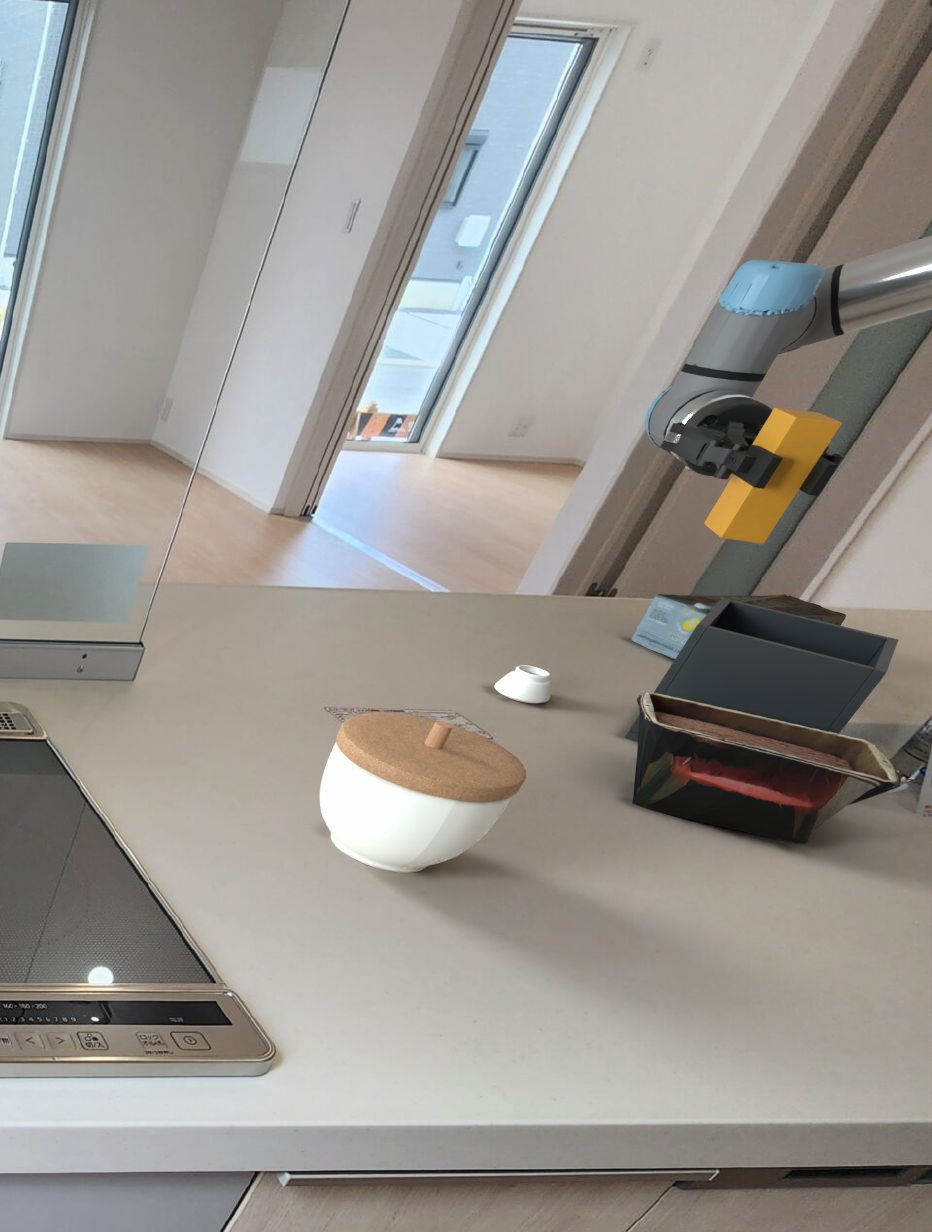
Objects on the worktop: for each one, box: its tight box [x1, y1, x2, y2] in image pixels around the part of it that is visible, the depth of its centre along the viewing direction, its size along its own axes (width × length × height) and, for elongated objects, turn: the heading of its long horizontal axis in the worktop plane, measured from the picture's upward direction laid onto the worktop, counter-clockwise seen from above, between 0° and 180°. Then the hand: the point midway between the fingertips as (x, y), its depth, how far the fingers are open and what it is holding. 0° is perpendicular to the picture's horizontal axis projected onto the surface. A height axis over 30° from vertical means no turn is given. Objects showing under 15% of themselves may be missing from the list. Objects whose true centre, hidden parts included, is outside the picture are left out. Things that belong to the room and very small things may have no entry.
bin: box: [624, 598, 899, 743], centre depth 104 cm, size 14×14×12 cm
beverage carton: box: [631, 593, 847, 660], centre depth 128 cm, size 8×19×7 cm, turn 96°
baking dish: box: [631, 691, 902, 845], centre depth 94 cm, size 14×18×10 cm
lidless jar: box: [494, 664, 552, 704], centre depth 114 cm, size 5×3×5 cm
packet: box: [703, 407, 843, 545], centre depth 104 cm, size 4×6×11 cm, turn 155°
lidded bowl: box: [319, 712, 527, 874], centre depth 83 cm, size 13×13×11 cm
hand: (795, 476), depth 99 cm, fingers closed on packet, 3 cm apart
